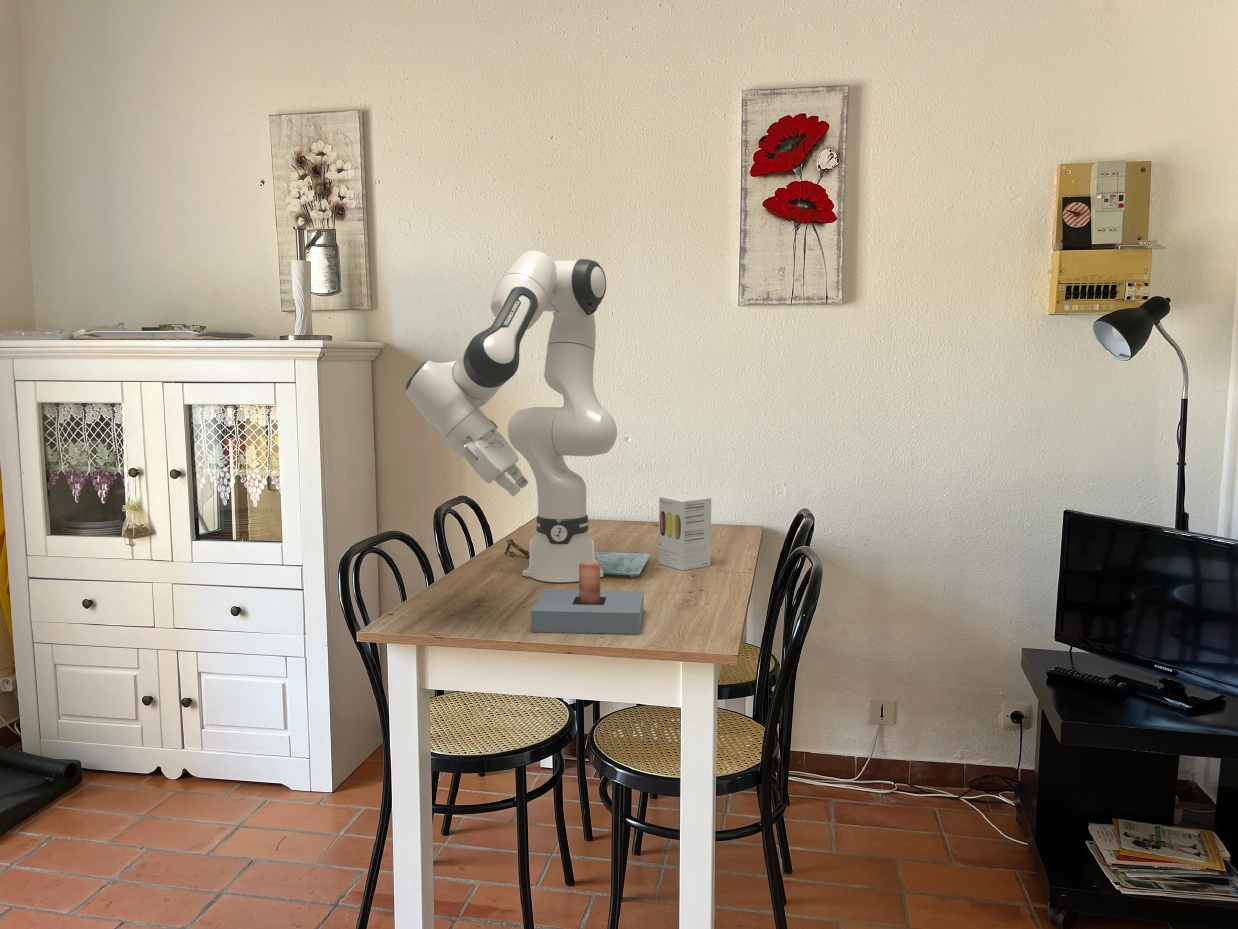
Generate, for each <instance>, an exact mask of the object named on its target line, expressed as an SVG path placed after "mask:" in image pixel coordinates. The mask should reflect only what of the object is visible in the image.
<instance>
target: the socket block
mask: <svg viewBox="0 0 1238 929" xmlns="http://www.w3.org/2000/svg"><path fill="white" fill-rule="evenodd" d="M644 594H645V593H644V590H608V589H607V590H605V589H604V590H601V589H600V605H579V589H549V588H548V589H547V588H546V589H545V588H544V589H543V590H542V591H541V594H540V595H539V597H538V598H537V601H536V602H535V603H534V605H533V606H532V608H531V610H530V632H531V633H547V632H552V633H553V632H556V633H558V634H559V633H561V634H593V633H605V634H604V635H639V634H641V630H642V623H643V616H644V611H645V610H644V609H645V608H644V607H645V605H644V604H645V602H644V601H645V596H644ZM563 632H564V633H563ZM556 633H555V634H556Z"/></svg>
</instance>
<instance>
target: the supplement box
mask: <svg viewBox="0 0 1238 929" xmlns="http://www.w3.org/2000/svg"><path fill="white" fill-rule="evenodd" d="M658 498H659V502H658V504H659V506H658V508H659V509H658V510H659V511H658V515H659V516H658V519H659V520H658V564H660V565H662V566H666V567H669V568H671V569H676V570H679V571H687V570H693V569H700V568H703V567H710V566H711V542H712V539H711V536H712V535H711V533H712V497H706V496H701V495H695V494H690V493H680V494H679V493H678V494H671V495H662V496H661V495H660V496H659V497H658Z"/></svg>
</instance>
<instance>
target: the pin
mask: <svg viewBox="0 0 1238 929" xmlns="http://www.w3.org/2000/svg"><path fill="white" fill-rule="evenodd" d="M600 567H601V564H600V562H599V563H597V562H583V563H580V564H579V581H578V590H579V605H600V590H601V577H600Z"/></svg>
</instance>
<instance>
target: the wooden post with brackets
mask: <svg viewBox="0 0 1238 929" xmlns="http://www.w3.org/2000/svg"><path fill="white" fill-rule="evenodd" d="M506 543H507V545H506V547H505V548H506V549H505V550H504V552H503V554H504V555H508V554H509V556H517V553H515V552H514V551H513V550H512V551H510V549H511V548H514V549H515V550H516V551H518V552H520V553H522V554H523V555H524V556H525V557H526V559H527V560H528V559H530V551H528V550H526V549H524V548H523V547H522V546H521V545H519V544H517V543H515V541H514V539H512V538H507V539H506Z"/></svg>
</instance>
